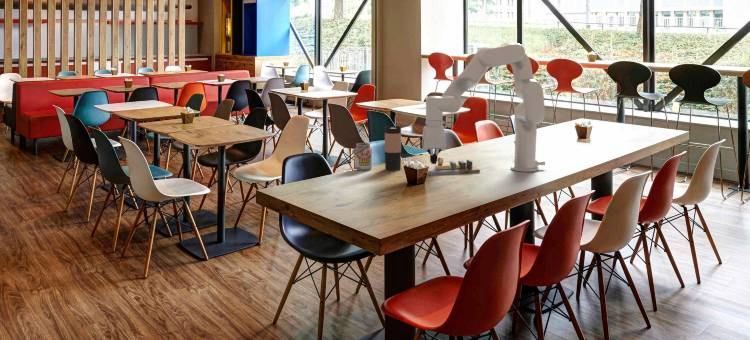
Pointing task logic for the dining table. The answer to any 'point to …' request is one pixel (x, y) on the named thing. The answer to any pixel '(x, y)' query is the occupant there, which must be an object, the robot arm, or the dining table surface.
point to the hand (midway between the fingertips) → (433, 163)
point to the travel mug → (392, 148)
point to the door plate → (444, 170)
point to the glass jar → (363, 156)
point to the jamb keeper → (467, 167)
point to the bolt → (441, 166)
